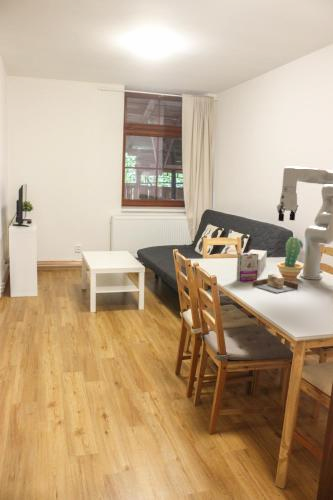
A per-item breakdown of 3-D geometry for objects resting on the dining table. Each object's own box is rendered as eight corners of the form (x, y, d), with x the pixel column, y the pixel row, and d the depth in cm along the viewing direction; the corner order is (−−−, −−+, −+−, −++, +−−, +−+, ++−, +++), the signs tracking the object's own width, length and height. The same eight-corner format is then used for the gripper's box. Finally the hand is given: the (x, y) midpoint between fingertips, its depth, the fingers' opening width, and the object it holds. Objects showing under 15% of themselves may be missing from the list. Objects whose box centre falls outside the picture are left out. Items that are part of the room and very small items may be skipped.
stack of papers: (249, 264, 299) (251, 249, 297) (265, 266, 296) (266, 250, 294) (241, 274, 269) (243, 257, 267) (259, 276, 266) (260, 259, 264)
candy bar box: (253, 279, 257) (255, 252, 254) (257, 281, 253) (259, 253, 250) (235, 280, 254) (237, 252, 251) (239, 282, 250) (241, 254, 247)
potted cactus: (303, 282, 256) (307, 240, 251) (276, 279, 259) (280, 238, 254) (301, 275, 270) (304, 236, 266) (275, 273, 273) (278, 234, 269)
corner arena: (273, 282, 253) (273, 277, 252) (297, 289, 240) (298, 283, 239) (252, 286, 242) (252, 281, 242) (276, 293, 229) (277, 288, 228)
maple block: (283, 286, 242) (284, 277, 241) (278, 287, 240) (279, 278, 239) (272, 282, 249) (272, 274, 248) (267, 283, 246) (268, 274, 245)
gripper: (284, 190, 233) (282, 222, 236) (304, 190, 243) (301, 220, 246) (273, 189, 239) (271, 220, 242) (293, 189, 249) (290, 219, 252)
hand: (286, 220), depth 244 cm, fingers open, 9 cm apart
